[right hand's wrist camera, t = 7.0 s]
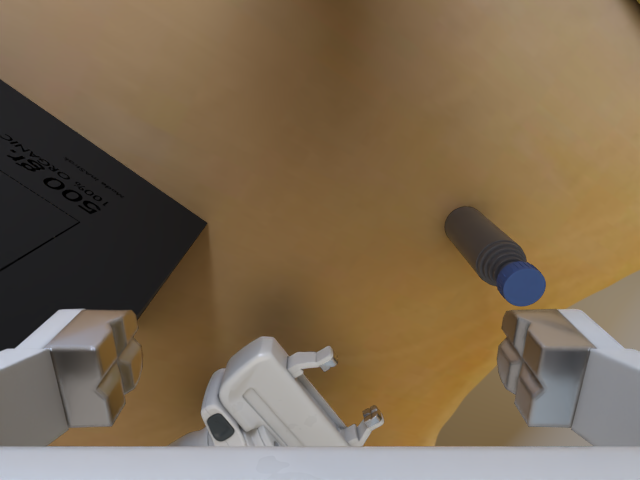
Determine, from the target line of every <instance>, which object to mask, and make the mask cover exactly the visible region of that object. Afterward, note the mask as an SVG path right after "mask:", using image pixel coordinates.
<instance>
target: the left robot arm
mask: <svg viewBox="0 0 640 480" xmlns="http://www.w3.org/2000/svg"><path fill="white" fill-rule="evenodd" d="M337 358H338V356H337V355H336V353H335V352H334V351H333V349H332V348H331V347H330V346H327V347H325V348H323V349H321V350H320V351H318V352H296V353H295V354H293V355H291V356H289V355H288V354H287V353H286V351H285V350H284V349H283V348H282V347H281V345H280V344H279V343H278V342H277V340H276V339H275V338H274V337H268V336H262V337H259V338H257V339H255V340H254V341H252V342H251V343H249V344H248V345H246V346H245V347H243V348H242V349H241V350H239V351H238V352H237V353H236V354H234V355H233V356H232V357H231V358H230V359H229V361H228V363H227V365H226V368H221V369H219V370H217V371H215V372H214V373H213V375H212V377H211V379H210V381H209V383H208V386H207V388H206V391H205V395H204V398H203V403H202V408H201V416H202V419H203V421H204V423H205V425H206V427H205V428H203V429H202V430H199V431H194V432H190V433H188V434H186V435H184V436H182V437H181V438H179V439H177V440H176V441H174V442H172V443H171V444H169V445H168V446H363V445H364V443H365V441H366V440H367V438H368V437H369V435H370V433H371V431H372V430H374V429H376V428H378V427H380V426H381V425H383V423H384V418H383V414H382V413H381V412H380V410H379V409H378V408H377V407H376V406H375V405H373V406H371V407H370V408H367V409H365V410H364V411H363V416H364V419H363V420H362V422H361V423H360V424H359V426H358V427H357V426H356V425H355V424H353V425H351V426H349V427H347V426H346V425H345V424H344V423H343V421H342V420H341V419H340V418H339V416H338V415H337V414H336V413H335V412H334V410H333V409H332V408H331V407H330V405H329V404H328V403H327V402H326V401H325V399H324V398H323V397H322V396H321V394H320V393H319V392H318V391H317V390H316V388H315V387H314V386H313V385H312V383H311V382H310V381H309V380H308V378H307V377H306V376H305V375H304V374H303V369H306V368H315V367H320V368H321V369H322V370H323V371H324V372H325V371H327V370H329V369H330V367H334V366H336V365H337V363H338V359H337Z"/></svg>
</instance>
